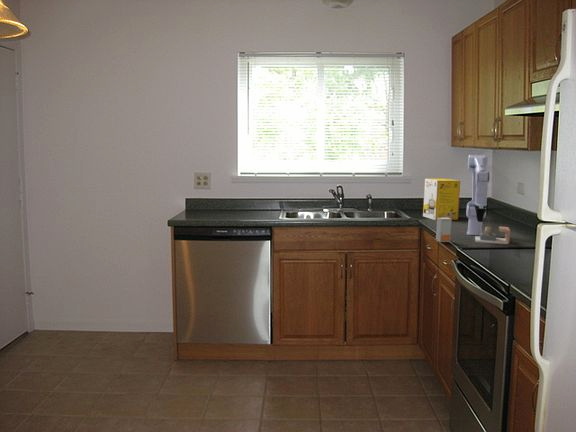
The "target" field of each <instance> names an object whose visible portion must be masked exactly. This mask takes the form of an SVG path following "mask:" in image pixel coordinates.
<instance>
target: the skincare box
mask: <svg viewBox="0 0 576 432" xmlns="http://www.w3.org/2000/svg"><path fill="white" fill-rule="evenodd" d="M435 229H436V230H435V233H436V235H435V241H436V242H438V243H451V234H452V233H451V232H452V231H451V230H452V219H451V218H437V220H436V228H435Z"/></svg>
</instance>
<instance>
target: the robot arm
mask: <svg viewBox="0 0 576 432" xmlns="http://www.w3.org/2000/svg"><path fill="white" fill-rule="evenodd" d="M488 160H489V159H488V155H486V154H485V155H484V154H483V155H480V154H469V155H468V158H467V171H468V172H470V173H471V200H470V201H468V202H467V204H466V212H465V213H466V215H465V216H466V217H467V218H468V224H467V230H466V236H467V235H468V236H480V233H483V229H482V228H483V220H484V218H486V216H487V211H488V210H487V208H486V206H487V205H488V203H487V201H488V186H489V183H490V180H491V179H490V178H491V177H490V176H491V175H490V171H489V170H488V169H487V167H488Z"/></svg>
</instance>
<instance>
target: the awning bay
mask: <svg viewBox="0 0 576 432" xmlns="http://www.w3.org/2000/svg"><path fill="white" fill-rule="evenodd" d="M498 230H499V231H500V233H505V237H503V238H502V237H497V234H496V233H494V232H493V233H492V232H491V235H485V232H482V233H480V235H479V236H478V235H474V240H475V243H486V244H498V245H510V236H511V229H510V228H509V227H508V226H498Z"/></svg>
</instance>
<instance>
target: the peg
mask: <svg viewBox="0 0 576 432" xmlns="http://www.w3.org/2000/svg"><path fill="white" fill-rule="evenodd" d="M484 233H485V235H491V233H492V227H490V226H485V227H484Z"/></svg>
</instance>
